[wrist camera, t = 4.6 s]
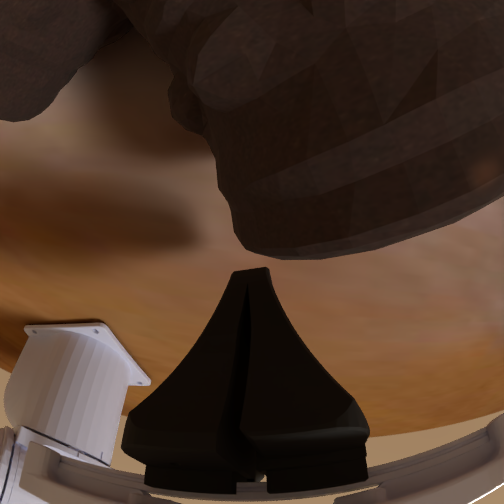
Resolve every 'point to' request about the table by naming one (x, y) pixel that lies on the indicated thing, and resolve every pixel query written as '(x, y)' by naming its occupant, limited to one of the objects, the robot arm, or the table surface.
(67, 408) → the robot arm
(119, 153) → the table surface
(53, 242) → the table surface
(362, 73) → the pipe
